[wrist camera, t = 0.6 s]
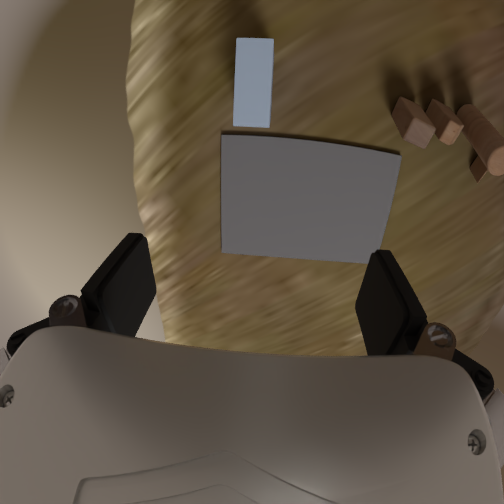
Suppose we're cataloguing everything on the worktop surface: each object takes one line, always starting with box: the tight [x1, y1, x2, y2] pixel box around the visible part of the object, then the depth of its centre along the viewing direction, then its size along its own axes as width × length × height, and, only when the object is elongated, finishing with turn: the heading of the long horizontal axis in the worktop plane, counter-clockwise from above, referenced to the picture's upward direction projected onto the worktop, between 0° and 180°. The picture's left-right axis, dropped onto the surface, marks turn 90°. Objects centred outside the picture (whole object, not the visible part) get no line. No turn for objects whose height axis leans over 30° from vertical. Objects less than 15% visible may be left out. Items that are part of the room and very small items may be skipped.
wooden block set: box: [392, 97, 504, 183], centre depth 23 cm, size 18×9×10 cm, turn 79°
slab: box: [233, 38, 274, 128], centre depth 23 cm, size 8×3×9 cm, turn 178°
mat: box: [221, 134, 402, 264], centre depth 34 cm, size 16×22×1 cm
